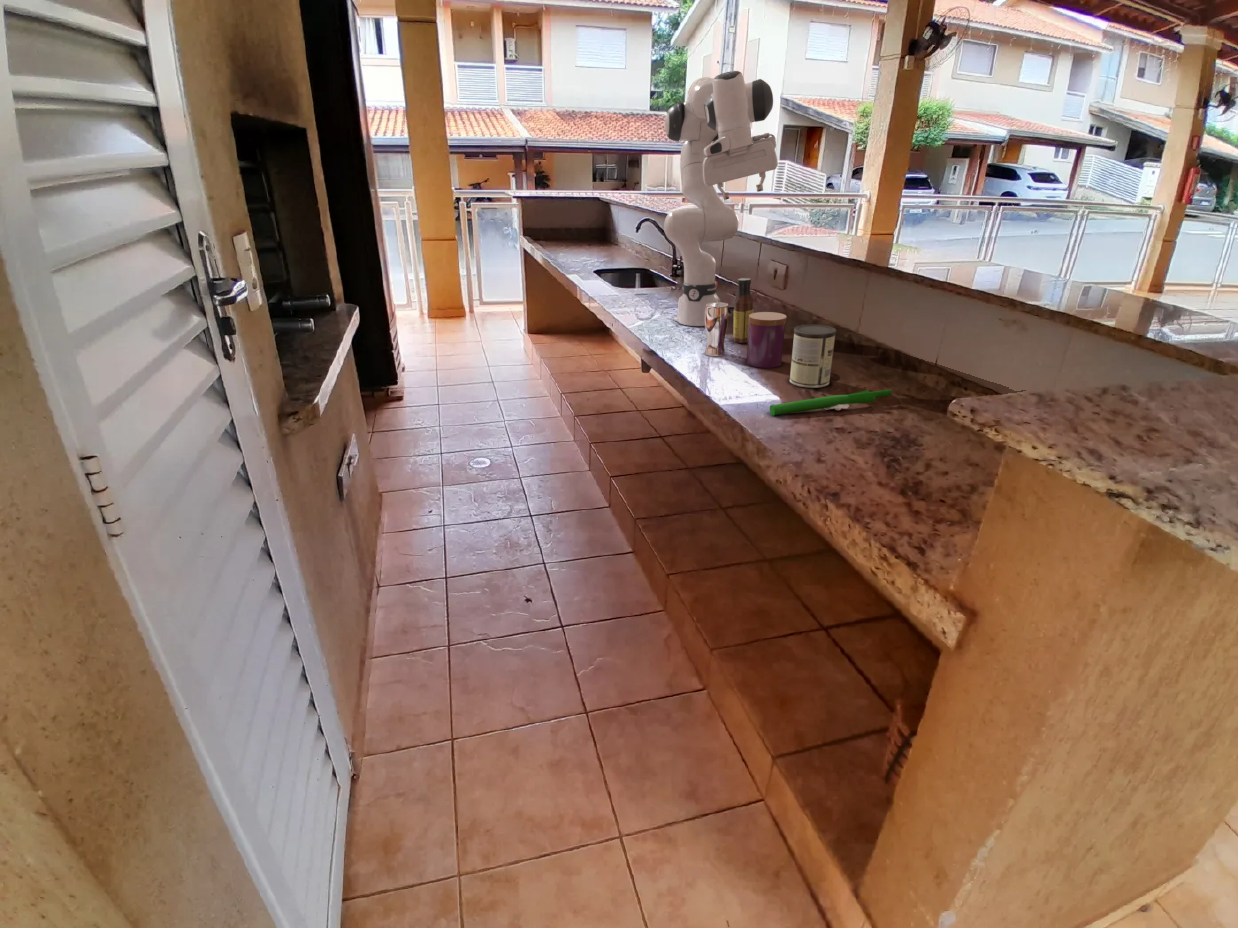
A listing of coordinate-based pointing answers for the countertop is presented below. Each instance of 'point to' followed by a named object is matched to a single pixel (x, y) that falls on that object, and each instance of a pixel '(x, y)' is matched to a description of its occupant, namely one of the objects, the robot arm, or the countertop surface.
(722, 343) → the metal cocktail shaker
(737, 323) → the sauce bottle
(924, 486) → the countertop surface
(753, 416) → the countertop surface
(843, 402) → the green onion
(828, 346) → the coffee can
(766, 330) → the jar
